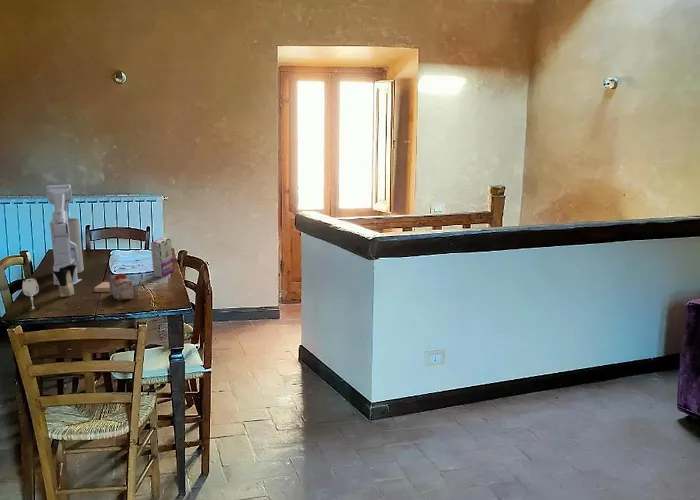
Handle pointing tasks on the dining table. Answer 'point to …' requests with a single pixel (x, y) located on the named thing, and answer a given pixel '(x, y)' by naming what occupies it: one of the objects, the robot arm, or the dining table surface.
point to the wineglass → (30, 288)
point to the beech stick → (67, 286)
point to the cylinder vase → (73, 240)
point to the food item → (121, 287)
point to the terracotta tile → (103, 287)
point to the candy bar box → (162, 257)
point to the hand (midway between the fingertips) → (66, 284)
